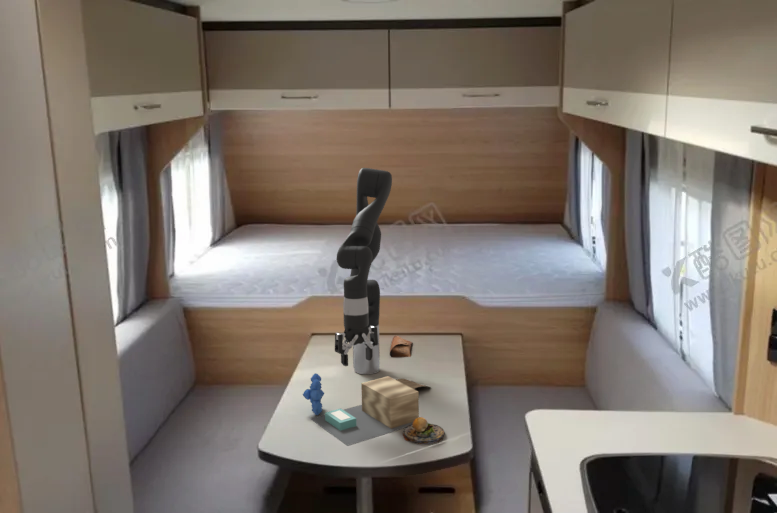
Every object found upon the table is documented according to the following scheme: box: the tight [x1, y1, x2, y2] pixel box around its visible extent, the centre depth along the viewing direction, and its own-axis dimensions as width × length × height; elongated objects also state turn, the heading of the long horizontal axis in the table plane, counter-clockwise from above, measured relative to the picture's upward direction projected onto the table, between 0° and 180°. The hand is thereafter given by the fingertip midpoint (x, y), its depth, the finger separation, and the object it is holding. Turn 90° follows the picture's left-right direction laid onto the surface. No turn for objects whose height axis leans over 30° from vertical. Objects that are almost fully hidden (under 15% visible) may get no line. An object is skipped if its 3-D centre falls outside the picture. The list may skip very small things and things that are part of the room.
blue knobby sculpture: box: [302, 373, 325, 416], centre depth 214 cm, size 12×7×12 cm, turn 6°
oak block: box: [360, 375, 420, 428], centre depth 210 cm, size 16×10×9 cm, turn 34°
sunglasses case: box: [389, 334, 413, 358], centre depth 273 cm, size 18×7×7 cm
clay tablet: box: [394, 378, 431, 390], centre depth 231 cm, size 16×11×3 cm
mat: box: [310, 404, 413, 447], centre depth 208 cm, size 22×26×1 cm
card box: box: [324, 408, 356, 431], centre depth 206 cm, size 9×6×2 cm, turn 34°
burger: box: [402, 416, 446, 446], centre depth 197 cm, size 12×12×8 cm
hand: (357, 362), depth 212 cm, fingers open, 8 cm apart
